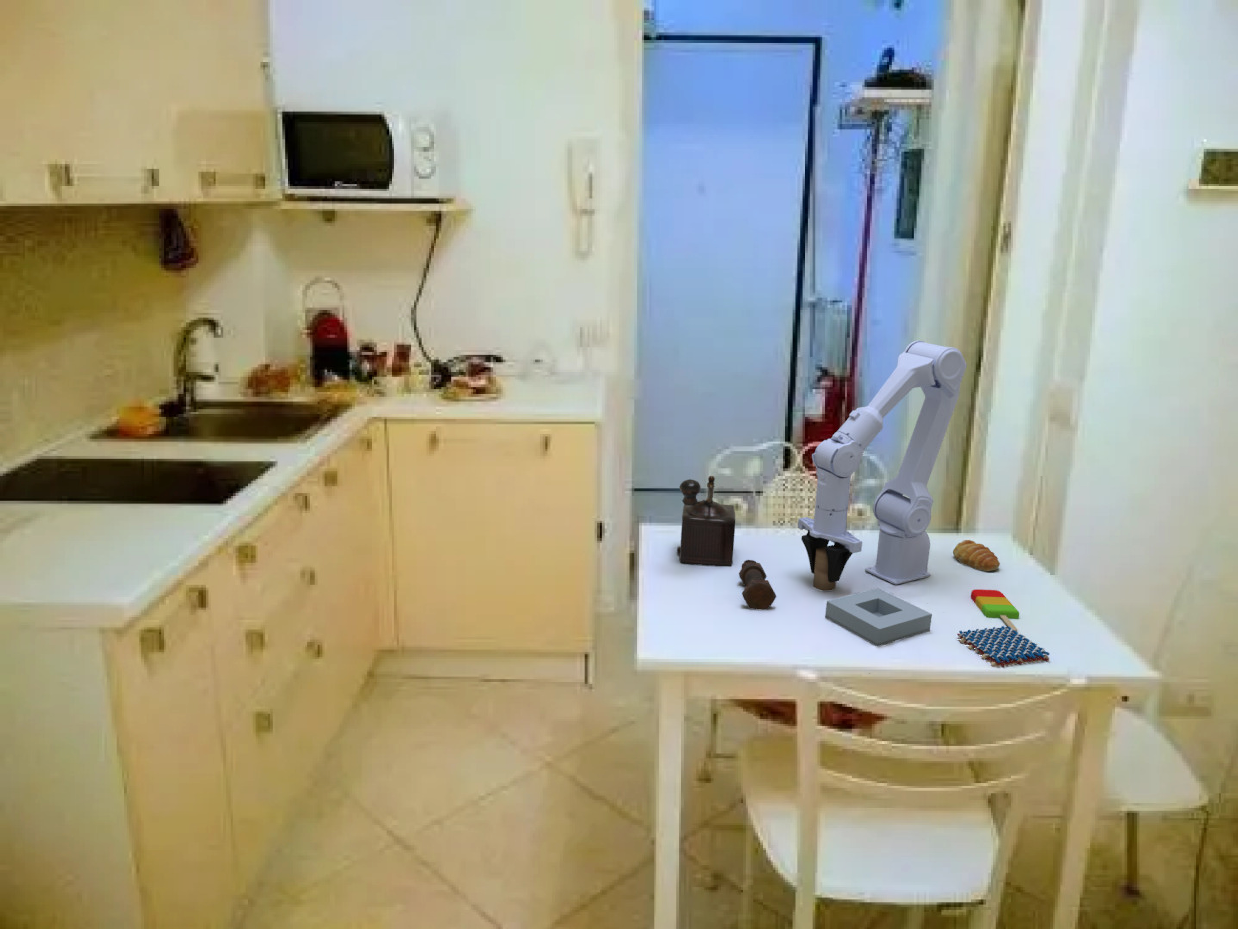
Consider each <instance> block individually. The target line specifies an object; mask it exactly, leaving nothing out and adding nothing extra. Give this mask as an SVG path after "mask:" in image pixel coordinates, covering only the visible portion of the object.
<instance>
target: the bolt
mask: <svg viewBox="0 0 1238 929" xmlns="http://www.w3.org/2000/svg"><path fill="white" fill-rule="evenodd" d="M738 575H739V578H740V580H741V582H742V583H743V585H744V587H745V588H744V589H743V591H742V592H741V596H742V597H743V599H744V601H745V604H746V605H747V607H748V608H749V609H750V610H761V611H762V610H768V609H770V607H771V606H772V605H773V603H774V602H775V600H776V598H777V595H776V592H775V590H774V589H773V587H772V585H771V583H770V581H769V580H768V579H767V574H766V572H765V570H764V568H763V566H762V564H761V563H760V562H758V561H755V560H753V559H746V560H744V561H743V563H742V564H741V569H740V571H739V572H738Z"/></svg>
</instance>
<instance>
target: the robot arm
mask: <svg viewBox="0 0 1238 929" xmlns="http://www.w3.org/2000/svg"><path fill="white" fill-rule="evenodd" d="M967 366H968V365H967V363H966V359H965V357H964V355H963V353H962V352H961V351H960V350H959V348H957V347H953V346H952V347H951V346H942V345H939V344H934V343H929V342H925V341H923V340H915V341H912V342H910V343H909V344H908V345H907V346H906V347H905V349H904V351H903V352H902V353H900V354H899V356H897V365H896V368H895V369H894V370H893V372H892V373H891V374H890V376H889V377H888V378H887V380H886V381H885V382H884V383H883V385H882V386H881V387H880V389H879V390H878V391H877V392H876V394H875V395H874V397H873V398H872V400H870V402H869V404H868V405H867V406H860V407H857V408H856V409H855V410H853V409H852V411H851V412H850V413H849V417H848V418H847V420H845V422H843V424H841V426H840V427H839V429H838V430H837V431H836V432H834V434H832V437H831V438H827V439H824V440H823V441H821V442H820V443H819V444H818V445H817V446H816V448H815V451H814V453H812V454H811V458H812V463H813V464H814V466H815V468H816V474H815V475H816V476H817V480H816V481H817V483H816V491H815V493H816V494H815V506H814V515H813V517H814V518H810V517H808V516H805V517H800V518H798V521H797V522H798V523H797V528H798V530H802V531H803V530H805V531H807V533H806V534H805V535H802V536H801V539H800V540H801V542H802V543H803V545H804V548H805V550H806V553H807V557H808V561H809V562H808V563H809V566H810V568H809V569H810V572H811V574H812V575H814V570H815V558H816V549H817V548H819V547H825V550H826V553H827V558H828V581H829V582H830V583H833V582H836V583H838V582H839V581H840V580H841V577H842V573H843V572H844V569H845V568H846V565H847V563H848V561H849V560H850V558H851V557H852V555H853V554H857V553H861V552H862V551H863V550H862V547H863V540H861V539H859V538H857V537H855V535H853V534H852V533H851V532H849V530H847V520H848V510H849V509H848V508H849V500H850V499H849V498H850V490H851V489H850V487H851V479H852V475H853V474H854V473H855V472H856V471H857V470H858V469H859V468H860V464H861V459H862V456H863V455H864V451H865V450H866V449H867V448H868V446H869V445H870V444H871V443H872V442H873V440H874V439H875V438H876V437H877V436H878V435H879V433H880V432H882V430H883V428H884V423H883V422H884V418H885V417H886V416H887V415H888V414H889V413H890V412H891V411H892V410H893V409H894V408H895V407H896V406H897V405H898V404H899V403H900V401H902V400H903V399H904V398H905V397H906V396H907V395H908V394H909V393H910V392H911V391H912V390H914V388H920V389H921V391H922V392H923V394H924V401H923V403H922V407H921V409H920V411H919V415H918V417H917V420H916V422H915V424H914V429H913V432H912V435H911V437H910V439H909V442H908V445H907V448H906V449H905V450H906V451H905V453H904V457H903V459H902V462H901V464H900V467H899V470H898V474H897V476H895V477H893V478H892V479H889V480H887V481H886V482H885V483H884V485H883V488H882V490H881V492H880V493H879V494H878V495H877V497H876V498H875V499H874V502H873V505H872V511H873V512H872V513H873V515H874V518H875V519H876V520H877V526H878V527H879V530H878V531H879V534H878V543H877V551H876V560H875V565H872V566H868V567H865V569H864V570H865V571H866V572H867V573H869V574H872V575H874V576H875V577H878V578H879V579H881V580H885V581H887V582H889V583H891V584H893V585H900V584H905V583H908V582H913V581H916V580H920V579H923V578H928V577H930V576H931V573H930V572H928V566H929V557H930V552H931V550H930V549H931V540H930V537H929V534H928V533H927V531H926V530H927V529H928V527H929V525H930V524H931V523H930V522H931V520H932V507H933V503H934V498H933V496H932V494H931V492H930V491H929V488H928V487H927V485H928V482H929V480H930V478H931V477H930V476H931V474H932V471H933V469H934V466H935V463H936V461H937V458H938V454H939V452H940V450H941V447H942V443H943V441H944V440H945V436H946V433H947V431H948V427H949V424H950V422H951V419H952V416H953V413H954V412H955V408H956V405H957V402H958V401H959V397H960V393H961V392H960V391H961V390H960V389H961V384H962V380H963V378H964V375H965V372H966V369H967ZM829 542H832V543H833V544H831V545H829Z"/></svg>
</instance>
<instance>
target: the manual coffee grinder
mask: <svg viewBox="0 0 1238 929" xmlns="http://www.w3.org/2000/svg"><path fill="white" fill-rule="evenodd" d="M707 479H708V482H707V484H706V487H707V498H706V499H702V500H699V501H698V499H697V495H698V494H699V493H700V492H701V484H700V483H699V481H697V480H695V479H686V480H683V481H682V482H681V483H680V484H679V490H680V492H681V494H682V495H683V498H682V503H683V507H682V508H683V509H682V514H681V530H680V531H681V532H680V546H677V548H676V549H677V550H676V552H677V553H678V555H679V556H678V557H679V561H680V563H681V564H689V565H694V564H702V565H701V566H709V565H715V566H714V567H732V565H733V563H734V561H733V557H734V556H733V555H734V547H735V546H734V544H735V533H736V532H735V530H736V511H735V508H734V506H735V505H734V504H722V503H719V502H718V501H715V500H713V498H714V494H715V492H714V490H715V480H716V477H715V476H714V475H709V476H708V478H707Z"/></svg>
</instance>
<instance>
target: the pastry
mask: <svg viewBox="0 0 1238 929" xmlns="http://www.w3.org/2000/svg"><path fill="white" fill-rule="evenodd" d="M952 554H953V557H954V558H955V560H956V561H959V563H960V564H963V565H965V566H967V567H969V568H972V569H974V570H976V571H984V572H991V571H996V570H998V569H999V567H1000V566H1001V563H1000V560H999V558H998V557H997V555H996V554H995V553H994V552H993V551H992V550H991V549H990V548H989V547H988V546H985V545H984V544H982V543H976V541H973V540H970V539H965V540H962V541H961V542H958V544H956V546H955V547H954V549H953V550H952Z"/></svg>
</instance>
